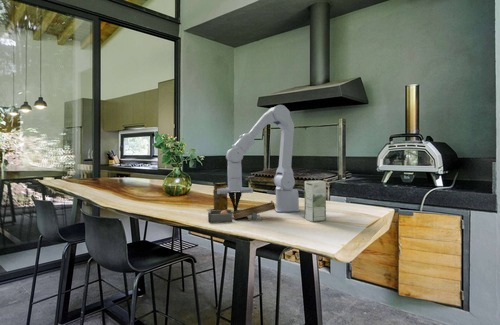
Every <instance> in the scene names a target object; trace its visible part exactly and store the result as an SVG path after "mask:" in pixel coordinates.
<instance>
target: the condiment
mask: <svg viewBox="0 0 500 325" xmlns="http://www.w3.org/2000/svg"><path fill="white" fill-rule="evenodd" d="M213 184H214V185H213V188H214V189H213V192H212V194H213V208H209V209H211V210H230V209H229V208H228V205H229V204H228V193H225V194H217V189H221V188H227V183H226V182H215V183H213ZM209 209H206V210H207V211H208V212H209Z"/></svg>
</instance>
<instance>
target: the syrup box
mask: <svg viewBox="0 0 500 325" xmlns="http://www.w3.org/2000/svg"><path fill="white" fill-rule="evenodd" d="M326 206H327V182H326V181H324V180H320V179H317V180H316V179H315V180H314V179H313V180H305V181H304V220H306V219H307V221H309V222H312V223H315V222H323V221H326V220H327V217H326V216H327V210H326V208H327V207H326Z"/></svg>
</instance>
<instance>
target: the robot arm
mask: <svg viewBox="0 0 500 325" xmlns="http://www.w3.org/2000/svg"><path fill="white" fill-rule="evenodd" d="M272 123H273V124H275V125H276V126H277V127H278V128H279V129H280V130H281V132H280V141H279V142H280V145H279V156H278V158H279V159H278V167H277V168H276V171H275V172H276V173H275V175H274V177H273V183H274V185H275V186H276V187H275V209H274V210H275V212H277V213H288V212H289V213H290V212H292V213H293V212H300V210H299V209H300V207H299V205H300V204H299V201H300V200H299V198H300V197H299V191H298V189H294V187H295V184H296V181H295V177H294V171H293V168H292V160H293V159H292V158H293V148H294V137H295V136H294V135H295V134H294V133H295V124H294V122H293V119H292V117H291V111H290V110H289V109H288V108H287V107H286V106H285V105H283V104H277V105H276V106H274V107H270V108H268V110H267V111H266V112H264V113H263V114H262V116H261V117H260V118H259V119H258V120H257V122H256V123H255V124H254V125H253V127H252V128H251V129H250V131H248V133H243V134H240V135H239V137H238V138H239V139H237V141H236V142H235V143H233V144H231V147H232V148H230V149H228V150H227V151H226V155H225V159H226V161H227V169H226V170H227V187H226V188H221V189H217V194H225V193H227V194H228V197H229V199H230V201H231V204H232V207H233V211H237V210H238V207H239V203H240V200H241V198H242V196H243V194H249V193H250V194H254V188H253V187H243V180H242V175H243V173H242V172H243V171H242V168H243V167H242V161H243V158H244V155H245V154H246V153H247V152H248V151H249V150H250V149H251V147H252V146H253V144H255V138H256V137H257V135H259V134H260V133H261V132H262V130H263V129H264V128H266V126H267V125H269V124H272Z"/></svg>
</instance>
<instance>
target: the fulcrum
mask: <svg viewBox="0 0 500 325" xmlns="http://www.w3.org/2000/svg"><path fill="white" fill-rule="evenodd" d="M246 217H247V221H262V220H263V219H262V216H261V215H260V214H258V213H257V212H253V215H249V216H246Z"/></svg>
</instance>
